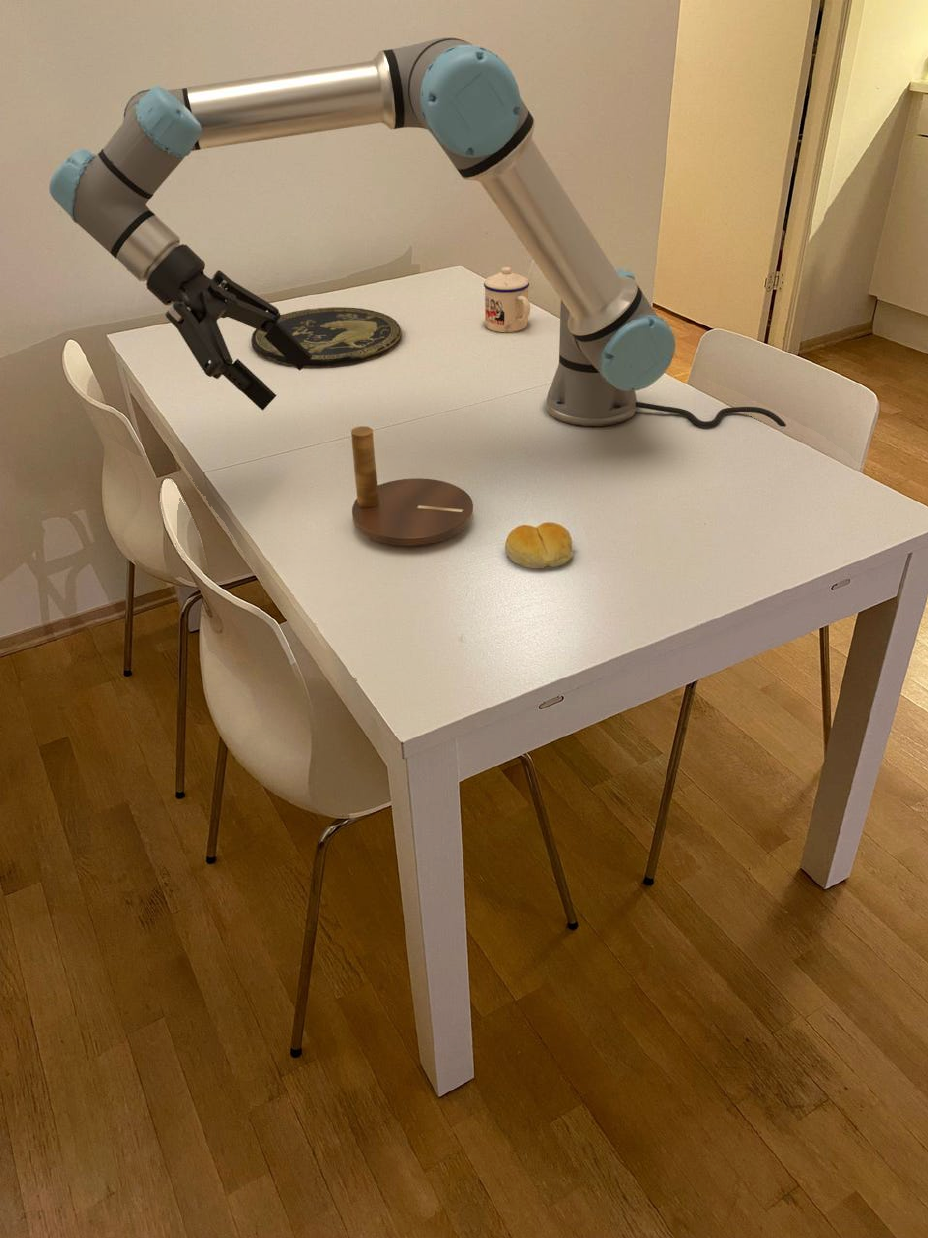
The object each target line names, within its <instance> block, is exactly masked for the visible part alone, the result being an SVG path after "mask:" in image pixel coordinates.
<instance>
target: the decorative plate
mask: <svg viewBox="0 0 928 1238" xmlns="http://www.w3.org/2000/svg"><path fill="white" fill-rule="evenodd" d="M277 322H278V323H279V324H280V325H281V326H282V327H283V328H284V329H285V330H286V331H287V332H288V333H289V334H290V335H291V336H292V337H293V338H294V339H295V340H296V341H298V342H299V343H300V344H301V345H302V346H303V347H304V348H305V349H306V350H307V351H308V352H309V353H310V354H311V355H312V356H313V357H312V358H311V359H310V360H309V361H308V362H307V363H306V364H305V365H304V367H303V368H331V367H332V368H333V367H340V366H341V367H342V366H350V365H354V364H357V363H358V364H359V363H364V362H367V361H370V360H373V359H376V358H378V357H381V356H384V355H385V354H388V353H389V352H391V351H392V350H394V349H395V348H396V347H398V345H399V344H400V342H401V340H402V337H403V336H402V329H401V326H400V324H399V323H398V322H397V320H395V319H394V318H393V317H391V316H389V315H387V314H385V313H382V312H379V311H375V310H372V309H366V308H359V307H347V306H346V307H345V306H342V307H341V306H331V307H315V308H306V309H302V310H296V311H291V312H288V313H283V314H281V318H280V319H279V320H278V321H277ZM267 333H268V332H267ZM267 333H266V332H263V331H261V330H258V329H256V328H255V330H254V331H253V332H252V335H251V346H252V348H253V350H254V352H256V353H257V354H258V355H259V356H260V357H262V358H264V359H265V360H268V361H271V362H274V363H277V364H280V365H281V364H282V365H286V366H292V367H295V366H294V365H293V364H292V363H291V362H290V361H289V360H288V359H287V358H286V357H285V356H284V355H283V354H282V353H281V352H279V351H278V350H277V349H276V348H275V347H274V346H273V345H272V344H271V343H270V342H269V341H268V340H267V339H266V338H265V337H264V336H265V335H266V334H267Z"/></svg>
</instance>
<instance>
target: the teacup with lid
mask: <svg viewBox="0 0 928 1238" xmlns="http://www.w3.org/2000/svg"><path fill="white" fill-rule="evenodd" d="M529 286H530V282H529V280H528V278H527V277H526V276H523V275H520V274H518V273H516V272H514V271H512V267H510V266H503V267H502V268H501V271H499V272H497V273H496V274H494V275H490V276H488V277H487V278H486V279H485V280H484V282H483V287H484V315H485V316H484V317H485V318H484V322H485V323H484V325H485V326H486V328H487V329H489V330H490V331H493V332H499V333H513V332H518V331H521V330H523V329H525V328H526V327H527V326H528V318H529V317H530V313H531V304H530V302H529Z"/></svg>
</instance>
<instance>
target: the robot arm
mask: <svg viewBox="0 0 928 1238" xmlns="http://www.w3.org/2000/svg"><path fill="white" fill-rule="evenodd" d="M517 82H518V81H516V77H515V75H514V74H513V71H512V70H511V69H510V67H509V66H508V65H507V64H506V62H505V61H504V60H503V59H502V58H501V57H499V56H498V55H497V54H496V53H494V52H492V51H491V50H489V49H487V48H485V47H482V46H478V45H474V44H473V43H470V42H468V41H466V40H465V39H461V38H457V37H450V36H449V37H446V36H445V37H439V38H434V39H430V40H425V41H423V42H419V43H415V44H410V45H405V46H400V47H395V48H390V49H381V50H379V51H378V52H377V54H376V55H375V57H373V59H372V60H369V61H361V62H355V63H347V64H340V65H333V66H327V67H319V68H313V69H306V70H297V71H291V72H285V73H278V74H269V75H264V76H256V77H250V78H249V77H248V78H243V79H242V78H241V79H235V80H229V81H222V82H214V83H207V84H201V85H193V86H187V87H185V88H184V87H183V88H182V87H181V88H174V89H173V88H172V89H165V88H164V87H162V86H159V85H154V86H153V87H151V88H145V89H142V90H139V91H138V92H137V93H136V94H134V95H132V96H131V97H130V99H128V102H127V103H126V105H125V107H124V109H123V111H124V113H123V119H122V123H121V125H120V126H119V127H118V128H117V130H116V131H115V132H114V134H113V135H112V137H110V139H109V141H108V142H107V143H106V145H104V147H103V148H102V149H100V152H98V153H97V154H94V153H92V152H91V151H90V150H88V149H85V148H84V149H78V150H76V151H74V152H72V153H71V154H70V155H69V156H68V157H67V158H66V159H65V160H64V162H62V163H61V164H60V165H59V166H58V167H57V169H56V170H55V172H53V175H52V176H51V178H50V180H49V181H50V182H49V186H48V187H49V188H48V190H49V195H50V196H51V198H52V199H53V200H54V202H56V204H58V205H59V206H60V207H61V209H63V211H64V212H66V213H67V214H68V215H69V217H70V218H71V220H72V221H73V222H74V224H77V225H78V226H79V227H80V228H82V229H83V231H85V232H86V234H88V235H90V236H91V238H93V239H94V240H95V241H96V242H97V243H98V244H99V245H101V246H102V247H103V248H104V249H105V250H106V251H107V252H108V253H109V254H110V255H111V256H112V257H113V258H114V259H115V260H117V261H118V262H119V264H121V265H122V266H123V267H124V268H125V270H127V271H128V272H130V273H131V274H132V276H134V277H135V278H136V279H137V281H139V282H146V283H145V286H146V290H148V291H149V292H150V293H151V294H152V295H153V296H154V297H155V298H156V299H158V301H160V302H161V303H162V304H163V305H164V306H170V307H169V309H168V310H167V311H166V313H165V317H166V319H167V320H168V321H169V322H170V323H171V324H172V325H173V326H174V327H175V328H176V330H177V331H178V333H179V335H180V337H182V339H183V340H184V342H185V343H186V345H187V347H188V349H189V350H190V352H191V354H192V355H193V357H194V358H195V360H196V362H197V363H198V364H199V366H200V368H201V369H202V371H203V373H204V374H205V376H206V377H209V378H214V379H216V380H219V379H220V378H221V377H222V376H223V377H224V378H226V380H228V381H229V382H230V383H231V384H232V386H234V387H236V388H237V390H239V391H241V392H242V393H243V394H244V395H245V396H246V397H247V398H248V399H249V400H250V401H252V403H253V404H255V406H257V407H258V409H260V410H261V411H262V412H263V411H264V410H265V409H266V408H267V407H268V406H269V405H270V403H272V402H273V400H274V399H275V398H276V397H277V394H276V393H275V392H274V391H273V390H272V389H271V388H270V387H269V386H267V384H265V383H264V382H263V381H262V380H261V379H260V378H259V377H258V376H257V375H256V374H255V373H254V372H252V370H251V369H249V368H248V367H247V366H246V365H245V364H244V363H243V362H242V361H241V360H240V359H239V358H236V359H235V360H234V361H233V358H232V355H231V353H230V351H229V348H228V346H227V343H226V341H225V338H224V336H223V333H222V331H221V329H220V326H219V324H218V320H219V319H226V318H229V319H231V320H233V321H235V322H239V323H242V324H243V325H246V326H248V327H251V328H253V329H255V330H256V329H258V330H261V331H263V332H266V333H267V332H268V333H267V334H266V335H265V336H264V337H265V338H266V339H267V340H268V341H269V342H270V343H271V344H272V345H273V346H274V347H275V348H276V349H277V350H278V351H279V352H281V353H282V354H283V355H284V356H285V357H286V358H287V359H288V360H289V361H290V362H291V363H292V364H293V365H294V366H293V367H295V368H296V369H297V370H298V371H299V372H300V371H301V370H302V369H303V368H305V367H304V365H305V364H306V363H307V362H308V361H309V360H310V359H311V358H312V357H313V356H312V355H311V354H310V353H309V352H308V351H307V350H306V349H305V348H304V347H303V346H302V345H301V344H300V343H299V342H298V341H296V340H295V339H294V338H293V337H292V336H291V335H290V334H289V333H288V332H287V331H286V330H285V329H284V328H283V327H282V326H281V325H280V324H279V323H278V322H277V321H278V320H279V319H280V318H281V315H282V314H281V313H280V310H279V309H278V307H276V306H275V305H272V304H271V303H269V302H268V301H266V300H264V299H263V298H261V297H259V296H258V295H257V294H255V293H253V292H251V291H250V290H248V289H247V288H245V287H243V286H242V285H240V284H239V283H237V282H235V281H234V280H232V278H230V277H229V276H228V275H226V274H225V272H223V271H222V270H217V271H216V272H215V273H214V274H213V275H212V276H211V278H210V277H209V276H207V275H206V274H205V273H204V270H205V267H206V263H205V262H204V260H203V259H202V258H201V257H200V256H198V255H197V253H195V251H193V249H192V248H191V247H189V246H188V245H187V244H184V243H182V244H180V242H181V237H180V236H178V235H177V234H176V233H175V232H174V231H173V230H172V229H171V228H170V227H169V226H168V225H166V223H164V222H163V221H162V220H161V219H160V218H159V217H158V216H157V215H156V213H154V212H153V211H152V210H151V209H150V208H149V207H148V205H147V203H148V202H149V201H150V200H151V199H152V198H153V196H154V194H155V193H156V192H157V191H158V190H159V188H160V187H161V186H162V185H163V183H165V181H167V179H168V178H169V176H170V175H172V173H173V172H174V171H175V170H176V168H177V167H178V166H179V165H180V164H181V162H183V160H184V159H185V158H186V157H188V156H189V155H190V154H191V152H195V151H200V150H205V149H212V148H219V147H225V146H226V147H227V146H233V145H238V144H246V143H247V144H248V143H254V142H259V141H267V140H275V139H279V138H281V139H282V138H287V137H294V136H301V135H307V134H314V133H320V132H328V131H335V130H341V129H348V128H355V127H363V126H369V125H375V124H376V125H377V124H382V125H385V126H386V127H387V128H388V129H389V130H397V129H398V130H399V129H404V128H413V129H414V128H417V129H423V130H427V131H428V132H429V133H430V134H431V136H432V137H433V138H434V139H435V141H436V142H437V143H438V145H439V146H440V147H441V149H442V150H443V152H444V153H445V154H446V156H447V157H448V159H449V161H450V162H451V163H452V165H453V166H454V167H455V169H456V170H457V172H458V173H459V174H460V177H462V178H463V180H465V181H466V180H467V181H476V182H479V183H480V184H481V186H482V187H483V189H484V190H485V191H486V193H487V194H488V196H489V197H490V199H491V201H492V202H493V203H494V204H495V206H496V207H497V209H498V210H499V212H500V213H501V215H502V216H503V218H504V219H505V221H506V222H507V223H508V225H509V226H510V228H511V229H512V231H513V232H514V233H515V235H516V236H517V238H518V239H519V241H520V242H521V244H522V245H523V247H524V248H525V249H526V251H527V252H528V254H529V255H530V257H531V258H532V259H533V261H534V262H535V263H536V265H537V267H538V269H539V270H540V271H541V273H542V275H543V276H544V277H545V278H546V280H547V281H548V283H549V284H550V286H551V287H552V289H553V290H554V292H555V293H556V294H557V296H558V297H559V299H560V306H559V310H560V311H559V342H558V343H559V344H558V347H559V348H558V365H557V368H556V369H555V373H554V376H553V378H552V381H551V384H550V387H549V390H548V393H547V396H546V411H547V412H548V413H549V414H550V416H552V417H553V418H555V419H557V420H558V421H561V422H564V423H567V424H571V425H575V426H583V427H605V426H611V425H616V424H620V423H623V422H625V421H627V420H629V419H630V418H632V417H633V416H634V415H635V414H636V412H637V408H639V409H645V410H651V411H657V412H663V413H670V414H677V415H681V416H684V417H686V418H687V419H689V420H690V421H692V423H693V424H694V425H695V426H698V427H703V428H708V427H714V426H717V424H718V423H720V421H721V419H722V417H724V415H727V414H736V413H737V414H738V413H755V414H760V415H762V416H766V417H768V418H770V419H771V420H772V421H774V422H775V423H776V424H777V425H778V426H779V427H783V428H784V427H787V425H786V423H785V422H784V420H783V419H782V418H781V417H780V416H778V415H777V414H776V413H774V412H772V411H770V410H769V409H766V408H762V407H757V406H736V407H726V408H722V409H721V410H719V412H717V414H716V416H715V417H714V418H713V419H712V420H709V421H708V420H707V421H706V420H705V421H704V420H700V419H699V418H697V416H695V414H694V413H692V412H691V411H689V410H686V409H683V408H679V407H672V406H665V405H658V404H654V403H646V402H640V401H637V394H636V391H640V390H644V389H646V388H648V387H649V386H652V385H654V383H656V382H657V381H658V380H660V379H661V378H662V377H663V376H664V375H665V373H666V372H667V370H668V369H669V368H670V365H671V364H672V360H673V358H674V355H675V351H676V339H675V335H674V333H673V330H672V328H671V327H670V325H669V323H668V322H667V321H666V320H664V318H662V317H660V316H659V315H658V314H657V312H655V310H654V308H653V307H652V306H651V304H650V302H649V300H648V299H647V298H646V296H645V294H644V293H643V291H642V290H641V288H640V287H639V285H638V283H637V281H636V277H635V274H634V273H632V272H631V271H629V270H625V269H619V268H615V267H614V266H613V264H612V263H611V261H610V259H609V258H608V256H607V255H606V253H605V251H604V250H603V248H602V247H601V245H600V243H599V242H598V241H597V239H596V238H595V236H594V234H593V233H592V231H591V230H590V228H589V226H588V225H587V222H585V220H584V218H583V217H582V215H581V214H580V212H579V211H578V209H577V207H576V206H575V205H574V203H573V201H572V199H571V198H570V196H569V195H568V193H567V191H566V190H565V189H564V187H563V186H562V184H561V182H560V181H559V179H558V178H557V176H556V175H555V173H554V171H553V170H552V168H551V166H550V165H549V163H548V162H547V160H546V158H545V157H544V155H543V154H542V152H541V151H540V149H539V147H538V146H537V144H536V143H535V141H534V140H533V136H534V131H535V124H536V121H535V118H534V117H533V115H532V114H531V112H530V110H529V109H528V107H527V105H526V103H525V102H524V101H523V99H522V97H521V92H520V88H519V85H518V83H517Z"/></svg>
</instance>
